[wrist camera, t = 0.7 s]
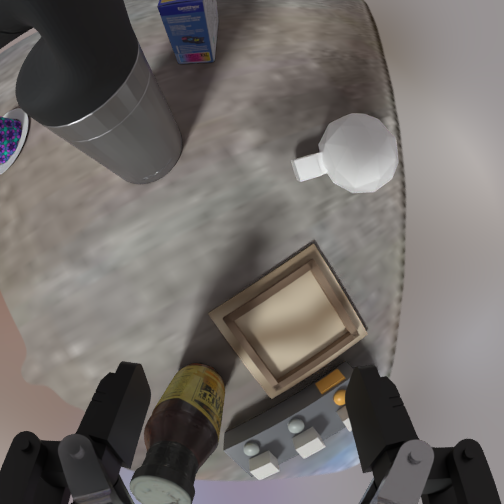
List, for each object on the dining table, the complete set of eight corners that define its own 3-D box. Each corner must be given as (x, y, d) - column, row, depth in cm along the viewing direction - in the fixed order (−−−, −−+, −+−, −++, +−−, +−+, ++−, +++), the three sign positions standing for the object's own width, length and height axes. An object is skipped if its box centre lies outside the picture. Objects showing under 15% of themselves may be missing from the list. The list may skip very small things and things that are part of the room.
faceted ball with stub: (366, 112, 31) (277, 134, 32) (402, 102, 22) (289, 126, 23) (384, 177, 33) (299, 202, 34) (422, 185, 25) (318, 218, 26)
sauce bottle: (230, 401, 31) (224, 527, 12) (181, 406, 31) (139, 523, 11) (219, 354, 31) (197, 469, 12) (168, 360, 31) (99, 464, 11)
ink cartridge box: (183, 22, 32) (168, -46, 17) (219, 19, 32) (214, -51, 17) (174, 65, 32) (150, -9, 17) (214, 63, 32) (206, -16, 17)
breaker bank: (223, 431, 31) (220, 461, 25) (344, 359, 32) (364, 379, 26) (250, 458, 31) (252, 488, 25) (364, 392, 32) (385, 414, 26)
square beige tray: (208, 312, 31) (206, 316, 30) (312, 243, 32) (316, 243, 30) (270, 396, 32) (272, 403, 30) (365, 332, 32) (371, 336, 30)
